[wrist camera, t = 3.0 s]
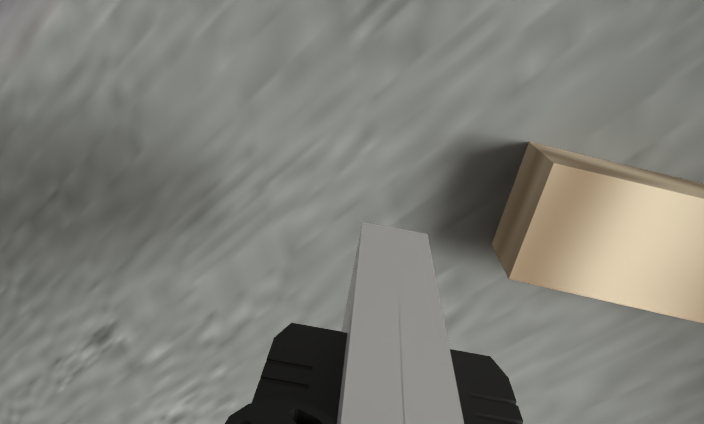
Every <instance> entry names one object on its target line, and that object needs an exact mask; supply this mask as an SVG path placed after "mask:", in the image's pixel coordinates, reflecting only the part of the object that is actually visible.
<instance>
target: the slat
mask: <svg viewBox="0 0 704 424" xmlns="http://www.w3.org/2000/svg"><path fill="white" fill-rule="evenodd" d="M492 246H493V248H494V250H495V252H496V254H497V256H498V258H499V260H500V262H501V264H502V266H503V268H504V270H505V272H506V274H507V276H508V278H509V279H512V280H516V281H521V282H525V283H529V284H534V285H538V286H543V287H547V288H551V289H556V290H560V291H564V292H569V293H573V294H578V295H582V296H586V297H591V298H595V299H599V300H604V301H608V302H613V303H617V304H621V305H626V306H630V307H634V308H639V309H643V310H648V311H652V312H656V313H661V314H665V315H669V316H674V317H678V318H683V319H687V320H691V321H696V322H700V323H704V184H702V183H698V182H693V181H689V180H685V179H681V178H677V177H673V176H669V175H664V174H660V173H656V172H652V171H648V170H644V169H640V168H635V167H631V166H627V165H623V164H619V163H615V162H610V161H606V160H602V159H598V158H594V157H590V156H586V155H581V154H577V153H573V152H569V151H565V150H561V149H557V148H552V147H548V146H544V145H540V144H536V143H532V142H529V143H528V146H527V149H526V152H525V154H524V157H523V160H522V163H521V165H520V168H519V171H518V174H517V176H516V179H515V182H514V184H513V187H512V190H511V193H510V195H509V198H508V201H507V204H506V206H505V209H504V212H503V215H502V217H501V220H500V223H499V226H498V228H497V231H496V234H495V236H494V239H493V242H492Z"/></svg>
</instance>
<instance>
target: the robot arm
mask: <svg viewBox="0 0 704 424" xmlns="http://www.w3.org/2000/svg"><path fill="white" fill-rule="evenodd" d="M225 424H523V419H522V417H521V414H520V411H519V408H518V406H516V399H515V396H514V393H513V390H512V387H511V384H510V381H509V378H508V377H507V376H506V375H505V373H504V372H503V371H502V370H501V369H500V367H499V366H498V365H497V364H496V363H495V362H494V360H493V359H492V358H491V357H490V356H485V355H479V354H474V353H468V352H462V351H457V350H451V349H450V348H449V343H448V338H447V333H446V327H445V322H444V317H443V312H442V307H441V302H440V296H439V291H438V286H437V281H436V276H435V270H434V265H433V260H432V255H431V250H430V245H429V239H428V234H426V233H421V232H415V231H410V230H404V229H399V228H393V227H388V226H382V225H377V224H371V223H366V222H362V227H361V232H360V238H359V243H358V248H357V253H356V258H355V264H354V269H353V274H352V279H351V284H350V289H349V295H348V300H347V305H346V310H345V315H344V321H343V327H342V332H340V331H334V330H329V329H323V328H318V327H312V326H307V325H301V324H295V323H291V324H290V325H289V326H287V327H286V328H285V329H284V330H283V331H282V332H280V333H279V334H278V335H277V336H276V337H275V338H274V340H273V343H272V346H271V348H270V351H269V354H268V357H267V361H266V363H265V366H264V369H263V372H262V375H261V379H260V381H259V384H258V386H257V389H256V392H255V395H254V398H253V401H252V403H251V404H248V405H246V406H245V407H243V408H242V409H240V410H239V411H237V412H235V413H234V414H232V415H231V416H230V417H229V418H228V420H227V421H226V422H225Z"/></svg>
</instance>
